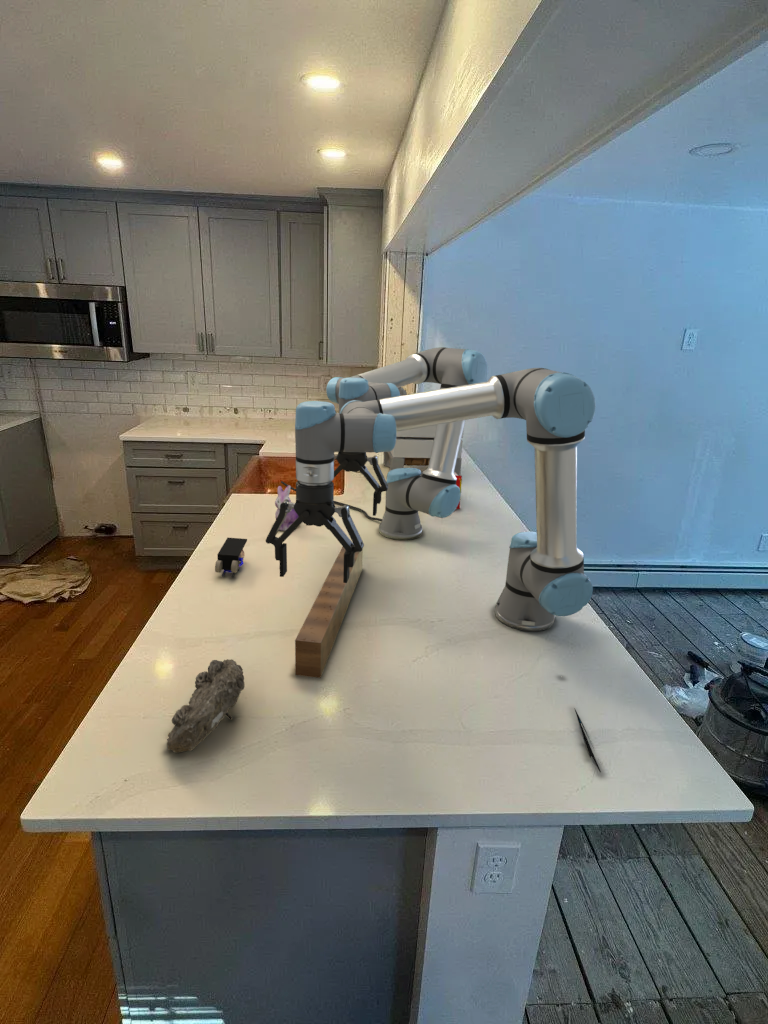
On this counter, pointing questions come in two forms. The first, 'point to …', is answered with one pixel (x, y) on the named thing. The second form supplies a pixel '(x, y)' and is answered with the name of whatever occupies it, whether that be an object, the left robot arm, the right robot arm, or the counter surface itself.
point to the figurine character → (230, 556)
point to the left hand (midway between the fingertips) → (350, 512)
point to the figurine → (281, 497)
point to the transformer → (415, 447)
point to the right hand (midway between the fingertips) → (314, 577)
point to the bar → (325, 618)
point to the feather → (587, 741)
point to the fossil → (206, 705)
